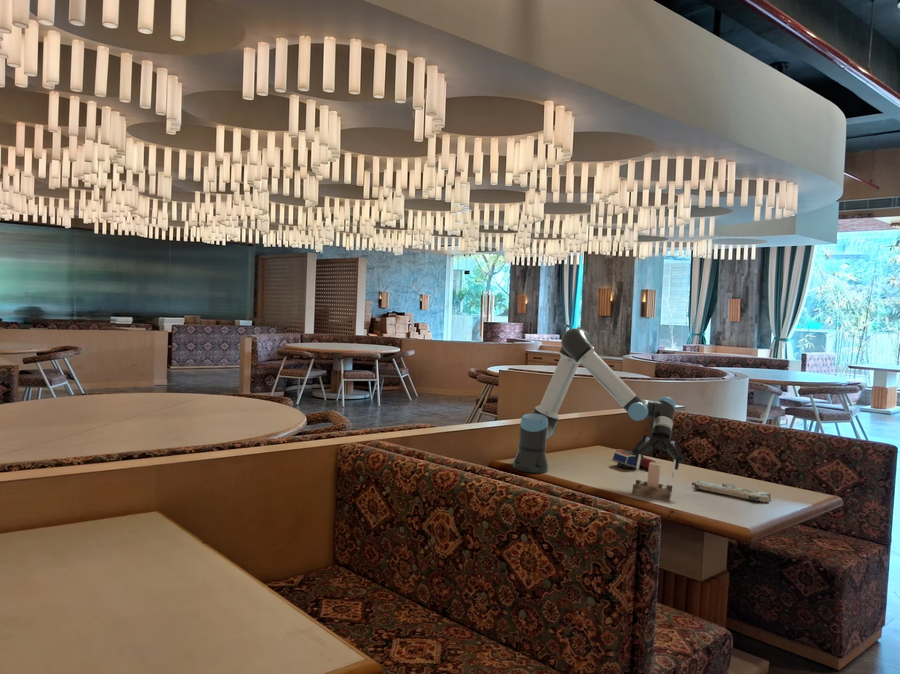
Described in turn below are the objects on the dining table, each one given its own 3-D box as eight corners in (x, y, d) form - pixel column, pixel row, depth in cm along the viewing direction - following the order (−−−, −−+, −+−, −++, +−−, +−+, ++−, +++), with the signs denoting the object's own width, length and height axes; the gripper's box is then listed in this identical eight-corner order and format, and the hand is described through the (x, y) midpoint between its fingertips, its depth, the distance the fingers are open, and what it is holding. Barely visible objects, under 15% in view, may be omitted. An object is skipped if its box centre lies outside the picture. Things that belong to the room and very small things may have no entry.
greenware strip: (646, 491, 265) (649, 463, 265) (648, 488, 270) (650, 461, 270) (657, 493, 264) (659, 465, 263) (658, 490, 268) (660, 463, 268)
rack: (632, 494, 264) (632, 485, 264) (635, 487, 275) (636, 479, 275) (669, 500, 259) (670, 491, 259) (671, 493, 270) (672, 484, 270)
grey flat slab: (700, 484, 297) (688, 489, 280) (701, 477, 297) (689, 482, 280) (774, 499, 280) (767, 506, 264) (775, 492, 280) (768, 498, 264)
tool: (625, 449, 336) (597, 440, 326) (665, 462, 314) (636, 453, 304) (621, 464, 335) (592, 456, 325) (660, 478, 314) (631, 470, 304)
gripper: (693, 439, 279) (687, 483, 266) (631, 431, 288) (623, 472, 275) (694, 428, 274) (688, 472, 260) (631, 420, 283) (622, 461, 270)
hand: (654, 472), depth 268 cm, fingers open, 13 cm apart
